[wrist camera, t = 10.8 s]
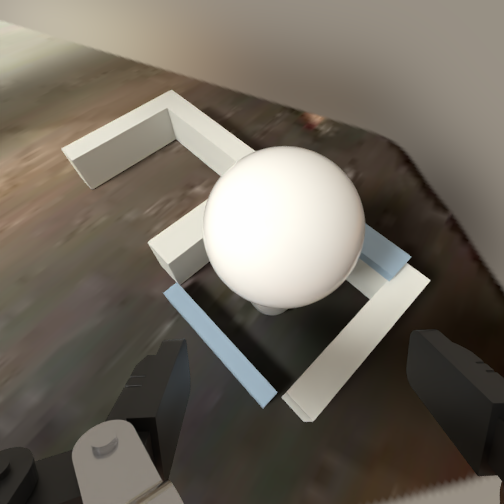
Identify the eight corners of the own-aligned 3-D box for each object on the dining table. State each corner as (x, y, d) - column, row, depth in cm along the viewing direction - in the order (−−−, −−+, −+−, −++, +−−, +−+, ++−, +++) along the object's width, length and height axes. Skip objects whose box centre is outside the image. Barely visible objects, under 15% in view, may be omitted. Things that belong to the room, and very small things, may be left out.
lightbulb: (315, 253, 21) (370, 107, 11) (328, 349, 18) (418, 262, 8) (221, 253, 21) (197, 108, 11) (218, 350, 18) (179, 264, 8)
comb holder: (68, 186, 24) (40, 150, 21) (179, 121, 28) (170, 81, 24) (289, 439, 16) (298, 442, 13) (407, 299, 19) (436, 275, 16)
